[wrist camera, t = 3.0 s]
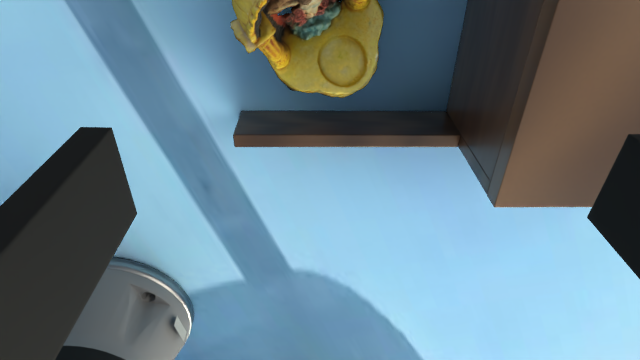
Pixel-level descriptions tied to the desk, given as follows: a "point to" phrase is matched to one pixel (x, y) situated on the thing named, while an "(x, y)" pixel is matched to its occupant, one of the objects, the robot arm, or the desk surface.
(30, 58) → the desk surface
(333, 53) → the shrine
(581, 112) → the wood block with slats
